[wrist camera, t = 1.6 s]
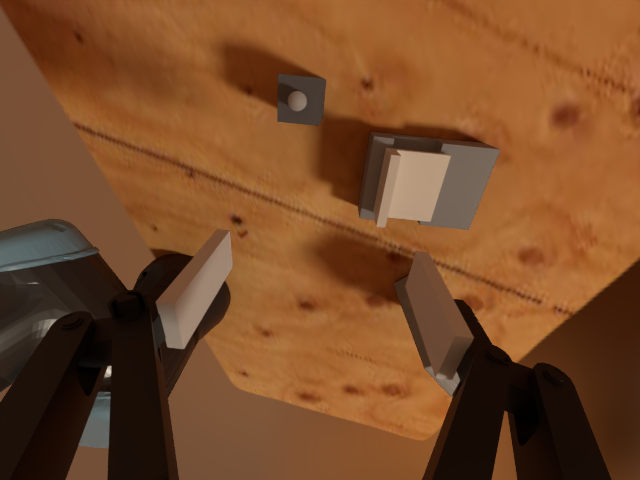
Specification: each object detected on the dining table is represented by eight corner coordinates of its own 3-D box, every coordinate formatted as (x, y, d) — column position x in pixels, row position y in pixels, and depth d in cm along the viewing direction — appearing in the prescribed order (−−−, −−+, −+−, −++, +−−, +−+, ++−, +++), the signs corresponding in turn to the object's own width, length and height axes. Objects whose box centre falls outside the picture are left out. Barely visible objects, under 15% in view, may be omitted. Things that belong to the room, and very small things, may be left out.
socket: (357, 206, 39) (359, 218, 36) (370, 131, 34) (373, 136, 31) (457, 217, 39) (468, 229, 35) (483, 143, 34) (500, 149, 31)
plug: (290, 114, 34) (274, 123, 26) (291, 76, 32) (274, 72, 24) (322, 117, 34) (317, 127, 26) (326, 79, 32) (321, 77, 24)
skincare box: (391, 282, 45) (414, 368, 31) (431, 260, 43) (475, 343, 29) (418, 313, 48) (450, 405, 34) (457, 294, 46) (508, 385, 32)
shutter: (372, 213, 35) (376, 226, 32) (385, 147, 31) (391, 154, 28) (428, 219, 35) (437, 233, 31) (448, 154, 31) (461, 162, 28)
